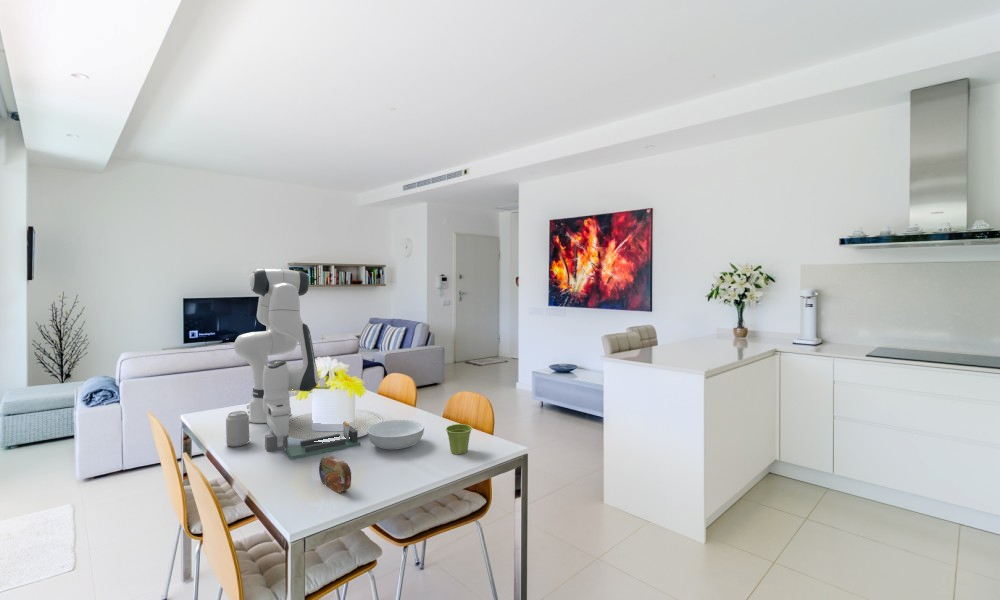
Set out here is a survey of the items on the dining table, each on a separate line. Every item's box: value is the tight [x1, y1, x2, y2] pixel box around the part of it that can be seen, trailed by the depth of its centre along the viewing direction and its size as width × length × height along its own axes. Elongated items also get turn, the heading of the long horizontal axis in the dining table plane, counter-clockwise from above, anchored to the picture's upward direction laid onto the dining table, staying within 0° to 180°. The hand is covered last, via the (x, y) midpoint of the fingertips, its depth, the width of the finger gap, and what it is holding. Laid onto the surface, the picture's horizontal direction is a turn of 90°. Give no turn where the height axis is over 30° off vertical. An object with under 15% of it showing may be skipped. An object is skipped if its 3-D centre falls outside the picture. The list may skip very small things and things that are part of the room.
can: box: [225, 410, 250, 448], centre depth 173 cm, size 8×8×12 cm
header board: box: [284, 421, 361, 460], centre depth 170 cm, size 10×24×8 cm, turn 126°
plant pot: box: [445, 423, 473, 455], centre depth 167 cm, size 9×9×9 cm
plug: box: [264, 433, 290, 452], centre depth 170 cm, size 4×7×5 cm, turn 126°
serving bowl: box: [366, 419, 425, 451], centre depth 173 cm, size 21×21×7 cm
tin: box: [318, 455, 352, 494], centre depth 138 cm, size 15×3×8 cm, turn 48°
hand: (277, 442), depth 170 cm, fingers open, 8 cm apart
